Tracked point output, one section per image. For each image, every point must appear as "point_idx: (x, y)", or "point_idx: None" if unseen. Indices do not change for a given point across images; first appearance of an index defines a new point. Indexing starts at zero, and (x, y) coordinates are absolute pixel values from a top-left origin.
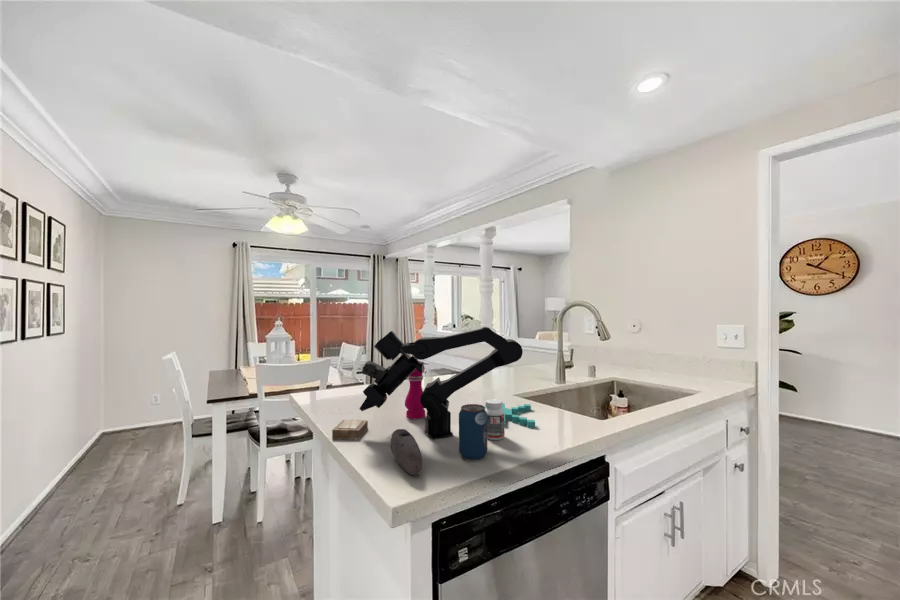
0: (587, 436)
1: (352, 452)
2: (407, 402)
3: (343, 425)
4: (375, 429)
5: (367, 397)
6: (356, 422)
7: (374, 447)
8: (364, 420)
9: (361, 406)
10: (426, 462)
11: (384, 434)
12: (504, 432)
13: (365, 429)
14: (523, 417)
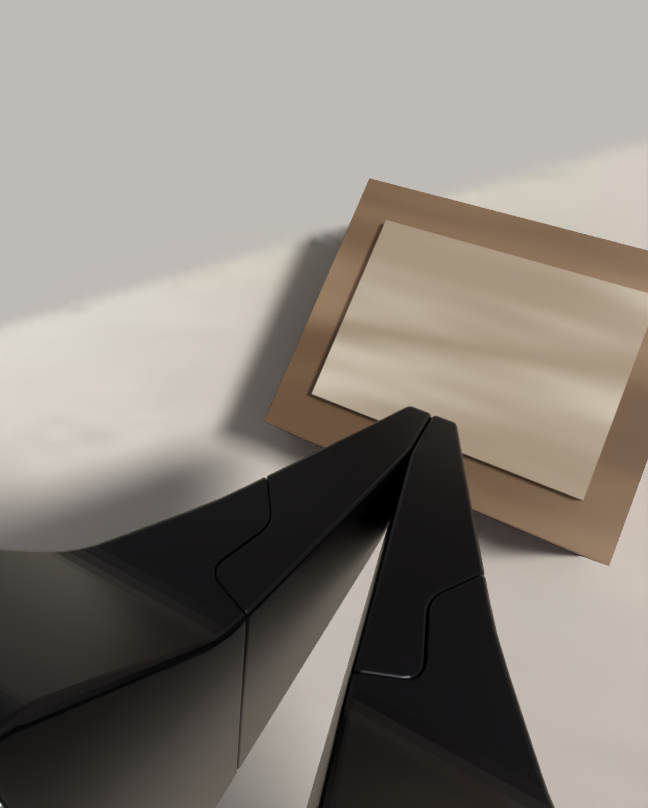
0: None
1: (48, 365)
2: None
3: (451, 272)
4: (512, 633)
5: (154, 534)
6: (525, 415)
7: (63, 529)
8: (611, 524)
9: (368, 430)
10: None
11: (320, 687)
12: None
13: (500, 521)
14: None
